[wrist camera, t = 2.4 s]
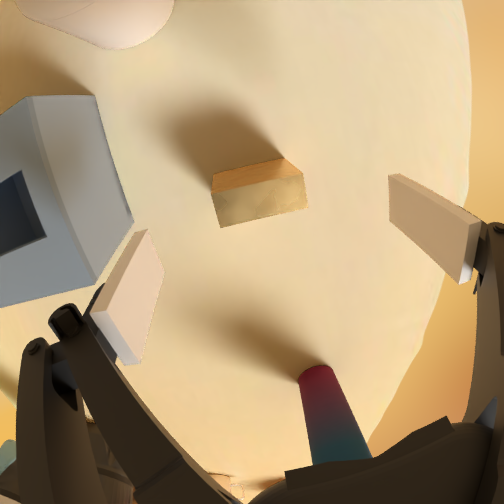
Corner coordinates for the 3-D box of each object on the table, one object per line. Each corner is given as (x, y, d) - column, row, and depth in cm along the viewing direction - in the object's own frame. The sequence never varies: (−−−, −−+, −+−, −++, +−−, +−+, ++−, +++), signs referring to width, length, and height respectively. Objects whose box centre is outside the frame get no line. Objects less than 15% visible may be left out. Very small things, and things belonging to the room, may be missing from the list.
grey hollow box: (41, 252, 25) (-9, 310, 16) (2, 149, 19) (-66, 177, 10) (134, 222, 25) (94, 284, 16) (94, 95, 19) (26, 96, 10)
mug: (197, 482, 58) (198, 510, 50) (192, 472, 53) (192, 504, 45) (242, 481, 59) (245, 510, 51) (242, 472, 54) (245, 503, 46)
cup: (295, 363, 35) (322, 468, 22) (344, 357, 36) (382, 453, 23) (289, 393, 38) (309, 485, 25) (333, 387, 39) (362, 473, 26)
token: (220, 200, 25) (220, 228, 19) (213, 173, 24) (211, 194, 18) (289, 184, 25) (308, 207, 19) (284, 157, 23) (302, 173, 18)
